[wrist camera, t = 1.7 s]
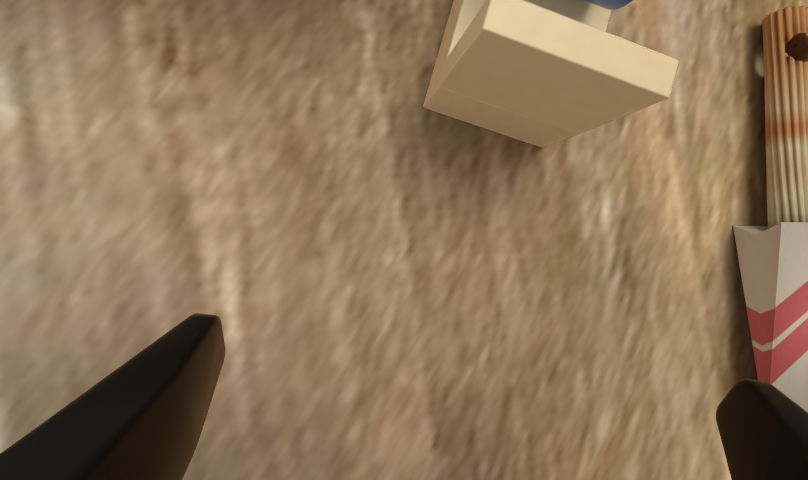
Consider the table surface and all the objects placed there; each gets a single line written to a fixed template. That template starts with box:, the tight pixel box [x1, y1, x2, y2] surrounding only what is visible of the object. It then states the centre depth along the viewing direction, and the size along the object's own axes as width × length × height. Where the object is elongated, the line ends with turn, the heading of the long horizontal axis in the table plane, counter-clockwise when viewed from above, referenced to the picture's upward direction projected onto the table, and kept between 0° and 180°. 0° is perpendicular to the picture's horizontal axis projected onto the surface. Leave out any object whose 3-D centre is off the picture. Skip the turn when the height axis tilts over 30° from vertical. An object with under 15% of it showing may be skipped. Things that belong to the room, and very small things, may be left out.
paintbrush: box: [733, 6, 808, 412], centre depth 24 cm, size 4×3×20 cm
